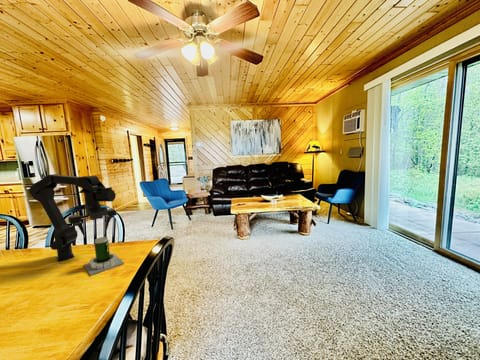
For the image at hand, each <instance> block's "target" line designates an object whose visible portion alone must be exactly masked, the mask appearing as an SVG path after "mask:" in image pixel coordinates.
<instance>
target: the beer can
mask: <svg viewBox="0 0 480 360" xmlns="http://www.w3.org/2000/svg"><path fill="white" fill-rule="evenodd" d="M109 243H110V242H109V239H108V236H100V237H97V238H96V239H94V252H95V253H94V254H95V257H96V263H101V262H105V261H108V260H110V253H111V252H110V244H109Z"/></svg>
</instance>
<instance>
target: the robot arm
mask: <svg viewBox="0 0 480 360" xmlns="http://www.w3.org/2000/svg"><path fill="white" fill-rule="evenodd" d="M58 184H60V185H61V184H63V185H73V186H77V187H78V188H81V189H80V191H78V193H79V194H83V199H84V209H85V215H80V214H73V215H69V216H68V218H67V219H68V223H69V224H70V225H69V224H68V223H67V221H66V219H65V218H64V216H63V213H62V212H61V210H60V208H59V207H58V205H57V202H56V201H55V195H56V193H55V189H56V188H57V187H58ZM28 193H29V194H30V195H31V196H32V198H33V200H35V201H37V202H39V203H40V204H41V206H42V208H43V210H44V211H45V213H46V215H47V217H48V219H49V221H50V224H51V225H52V227H53V228H54V231H53V232H54V233H53V238H54V241H53V242H52V243H51V244H50V245H49V247H50V249H51V250H54V251H56V255H57V256H56V257H55V258H56V261H57V262H58V263H59V262H62V261H65V260H69V259H73V258H75V254H74V253H73V248H72V247H73V246H72V245H73V244H74V243H76V241H77V238H78V231H77V230H76V227H75V226H77V227H78V228H79V231H80V232H81V234H82V235H83V236H86V235H85V230H84V225H83V222H82V221H83V220H89V219H90V220H91V221H96V220H99V219H100V220H101V219H103V218H104V216H106V222H105V221H104V231H107V230H108V227H109V223H110V221H111V220H112V218H114V216H117V210H116V209H114V208H108V207H107V206H103V207H101V204H100V202H101V203H102V202H104V203H105V202H109V203H110V202H114V201H115V199H116V197H117V196H116V192H115V190H113V188H112V187H111V186H110V187H106V186H105V185H104V183H102V182H101V180H100V179H99V177H98V176H97V175H86V176H76V175H75V176H73V175H64V174H58V173H54V174H52V173H51V174H47V175H45V176H44V177H43V178H42V179H40V180H38V181H36V182H35V183H34V184H31V185H30V187H29V189H28Z"/></svg>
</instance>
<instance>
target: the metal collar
mask: <svg viewBox="0 0 480 360" xmlns="http://www.w3.org/2000/svg"><path fill="white" fill-rule="evenodd" d="M117 257H118V255H117V254H116V253H115V252H114V253H113V252H112V253H111V252H110V260H108V261H105V262H101V263H96V256H94V257H93V258H91V259H90V260H89V261H88V263H89V264H90V268H91V269H94V270H98V269H103V268H107V267H110V266H112V265H113V264H115V263H116V262H117Z"/></svg>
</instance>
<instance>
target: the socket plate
mask: <svg viewBox="0 0 480 360" xmlns="http://www.w3.org/2000/svg"><path fill="white" fill-rule="evenodd" d="M124 265H125V262H123V261H122V259H120V258H119V257H118V256H117V262H116V263H115V264H113V265H112V266H110V267H107V268H103V269H98V270H94V269H91V268H90V264H89V262H87V263H84V264H83V266H84V268H85V269H86V272H88V274H89V276H90V277H92V276H95V275H97V274H100V273H102V272H105V271H109V270H111V269H114V268H117V267H120V266H124Z"/></svg>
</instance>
